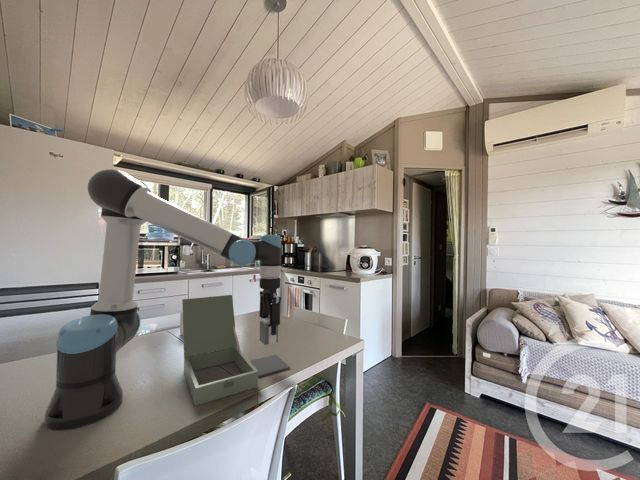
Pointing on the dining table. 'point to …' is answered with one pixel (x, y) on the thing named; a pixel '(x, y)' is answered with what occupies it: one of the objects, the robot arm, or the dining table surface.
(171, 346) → the dining table surface
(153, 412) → the dining table surface
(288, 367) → the mat
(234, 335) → the case
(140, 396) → the dining table surface
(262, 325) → the block
